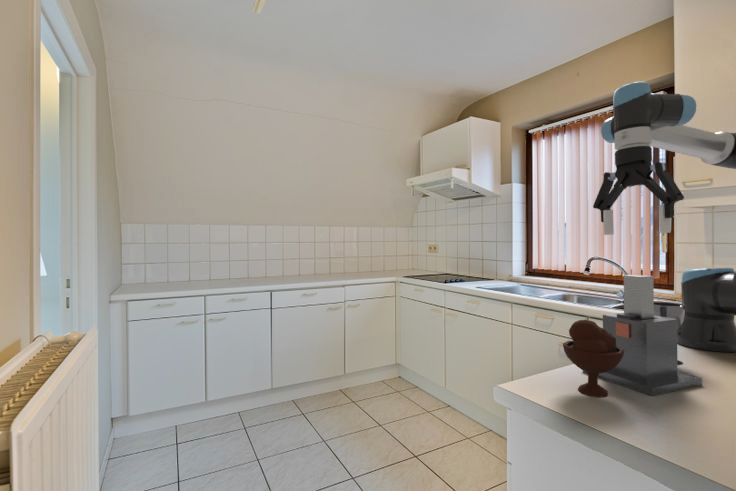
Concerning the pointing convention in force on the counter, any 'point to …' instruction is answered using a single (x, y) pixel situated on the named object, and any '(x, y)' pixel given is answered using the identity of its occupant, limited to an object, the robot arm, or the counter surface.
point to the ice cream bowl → (592, 353)
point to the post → (639, 296)
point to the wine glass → (670, 313)
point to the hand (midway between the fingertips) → (635, 234)
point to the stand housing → (647, 354)
